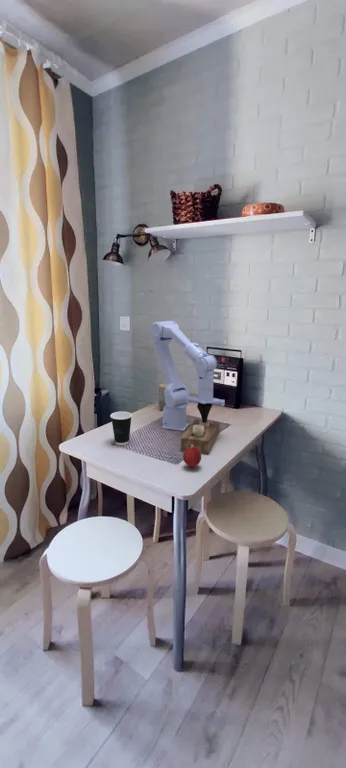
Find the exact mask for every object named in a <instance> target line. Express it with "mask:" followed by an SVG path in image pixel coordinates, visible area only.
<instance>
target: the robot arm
mask: <svg viewBox="0 0 346 768" xmlns="http://www.w3.org/2000/svg"><path fill="white" fill-rule="evenodd" d="M149 332H150V336H151V338H152V341H153V346H154V349H155V353H156V356H157V358H158V361H159V365H160V368H161V370H162V374H163V377H164V381H165V384H167V387H166V389H165V390H164V395H165V403H166V405H165V406H164V409H163V410H162V427H161V429H165V430H173V431H180V432H181V431H182V432H184V431H185V430H187V429H188V426H190V423H189V422H187V407H188V404H189V403H191V404H192V403H193V404H197V407H196V408H197V410H198V411H199V415H200V416H201V420H202V422H204V423H206V422H207V420H208V417H209V414H210V412H211V410H212V408H213V406H220V407H224V406H225V399H220V398H216V397H214V376H215V375H214V374H215V371H214V370H216V369H217V368H218V359H217V358H216V357H215V355H213V354H208V352H206V351H205V350H203V348H201V347H200V344H199V343H198V342H191V341H190V340H189V338H188V337H187V336H186V335H185V334H184V333H183V332H182V330H181V329H180V325H179V324H177V322H176V321H175V320H165V321H164V320H163V321H154V322H153V323H152V324H151V327H150V329H149ZM173 340H174V341H175V342H176V343H177V344H178V345H179V346H180V347H182V348H183V349H184V353H185V355H186V356H187V357H188V358H189V360H191V361H192V363H194V366H195V367H194V368H195V369H196V373H197V396H191V393H190V391H189V390H188V388H187V386H186V384H184V383H183V382H181V380H180V378H179V376H178V372H177V368H176V366H175V363H174V360H173V357H172V354H171V350H170V348H169V344H170V343H171V342H172V341H173Z"/></svg>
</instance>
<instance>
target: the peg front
mask: <svg viewBox="0 0 346 768" xmlns="http://www.w3.org/2000/svg"><path fill="white" fill-rule="evenodd" d="M193 436H195V437H204V426H203V425H194V426H193Z"/></svg>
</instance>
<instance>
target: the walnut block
mask: <svg viewBox="0 0 346 768" xmlns="http://www.w3.org/2000/svg"><path fill="white" fill-rule="evenodd" d="M200 420H201V419H196V418H195V419H193V422H191V424H189V427H187V428H186V431H185V432H184V433H183V434H182V436H181V438H180V451H181V452H185V451H186V449H188V448H189V447H190V445H193V446H194V447H196V448H197V449H198V450H199V451H200V453H201V455H210V453H211V451H212V449H213V447H214V445H215V443H216V441H217V439H218V438H219V436H220V430H221V429H220V427H221V426H220V424H221V422H220V421H216V420H215V421H214V420H209V421H210V427H209V428H208V427H204V437H195V436H193V426H194V425H199V421H200Z"/></svg>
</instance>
